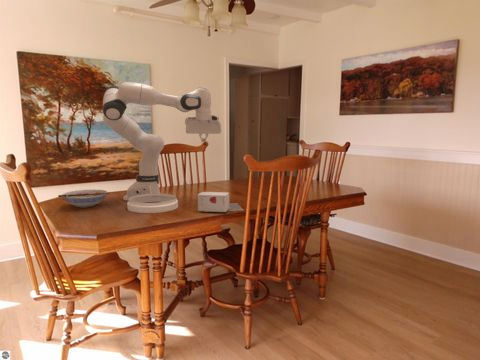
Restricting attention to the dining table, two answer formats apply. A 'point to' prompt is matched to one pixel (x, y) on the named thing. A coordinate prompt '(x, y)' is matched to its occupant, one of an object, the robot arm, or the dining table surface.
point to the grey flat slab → (233, 207)
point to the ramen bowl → (84, 197)
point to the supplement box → (213, 201)
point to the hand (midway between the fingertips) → (203, 141)
